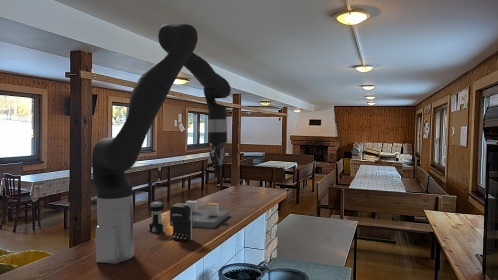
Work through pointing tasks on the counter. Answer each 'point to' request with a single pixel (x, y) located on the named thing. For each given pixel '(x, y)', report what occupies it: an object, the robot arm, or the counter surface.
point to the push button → (156, 217)
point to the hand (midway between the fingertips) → (218, 174)
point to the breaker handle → (213, 209)
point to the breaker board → (205, 216)
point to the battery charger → (181, 222)
